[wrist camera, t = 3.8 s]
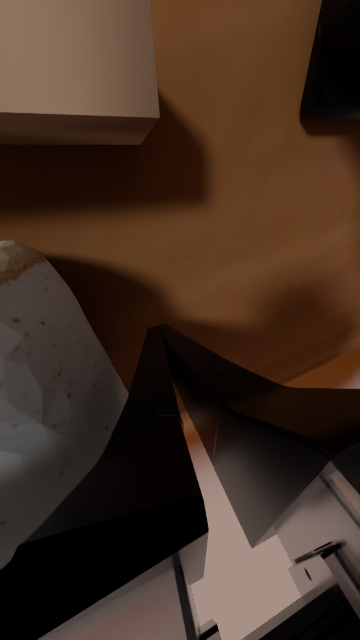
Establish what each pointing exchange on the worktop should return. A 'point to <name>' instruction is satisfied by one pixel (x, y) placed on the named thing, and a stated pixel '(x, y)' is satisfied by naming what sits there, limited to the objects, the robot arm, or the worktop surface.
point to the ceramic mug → (47, 394)
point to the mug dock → (77, 73)
